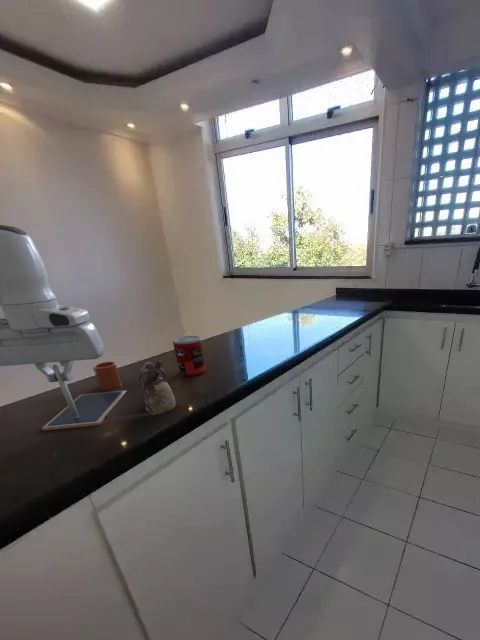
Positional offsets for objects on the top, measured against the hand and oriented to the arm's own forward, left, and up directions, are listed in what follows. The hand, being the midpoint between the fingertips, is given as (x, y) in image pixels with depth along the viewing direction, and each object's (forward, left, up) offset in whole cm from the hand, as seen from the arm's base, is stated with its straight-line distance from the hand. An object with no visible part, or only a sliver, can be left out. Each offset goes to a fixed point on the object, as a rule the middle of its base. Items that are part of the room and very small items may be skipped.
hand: (61, 380), depth 68 cm
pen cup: (0, +20, -10) cm, 22 cm away
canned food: (+22, +27, -10) cm, 36 cm away
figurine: (+18, +3, -10) cm, 21 cm away
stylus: (0, 0, -10) cm, 10 cm away
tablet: (0, +6, -10) cm, 12 cm away
